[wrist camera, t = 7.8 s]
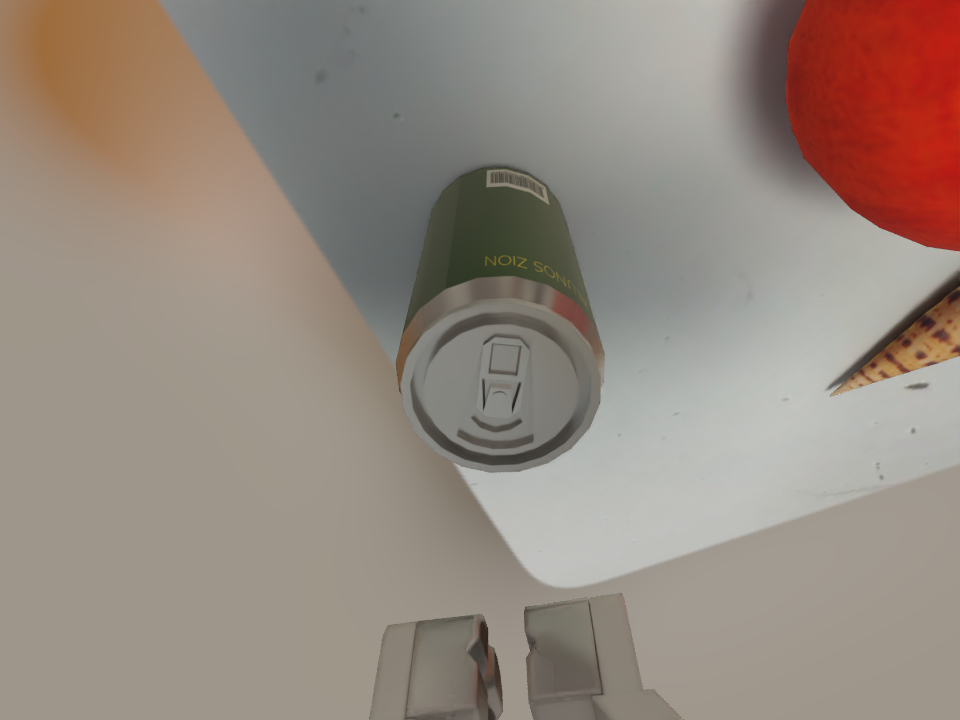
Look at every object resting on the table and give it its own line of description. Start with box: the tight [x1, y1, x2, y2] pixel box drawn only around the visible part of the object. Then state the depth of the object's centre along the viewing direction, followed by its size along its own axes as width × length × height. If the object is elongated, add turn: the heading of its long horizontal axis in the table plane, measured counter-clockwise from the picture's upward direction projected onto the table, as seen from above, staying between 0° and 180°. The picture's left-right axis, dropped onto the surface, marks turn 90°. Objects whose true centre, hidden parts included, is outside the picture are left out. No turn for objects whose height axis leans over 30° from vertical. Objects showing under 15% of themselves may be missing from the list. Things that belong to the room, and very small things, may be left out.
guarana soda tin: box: [396, 167, 605, 473], centre depth 22 cm, size 5×5×12 cm
